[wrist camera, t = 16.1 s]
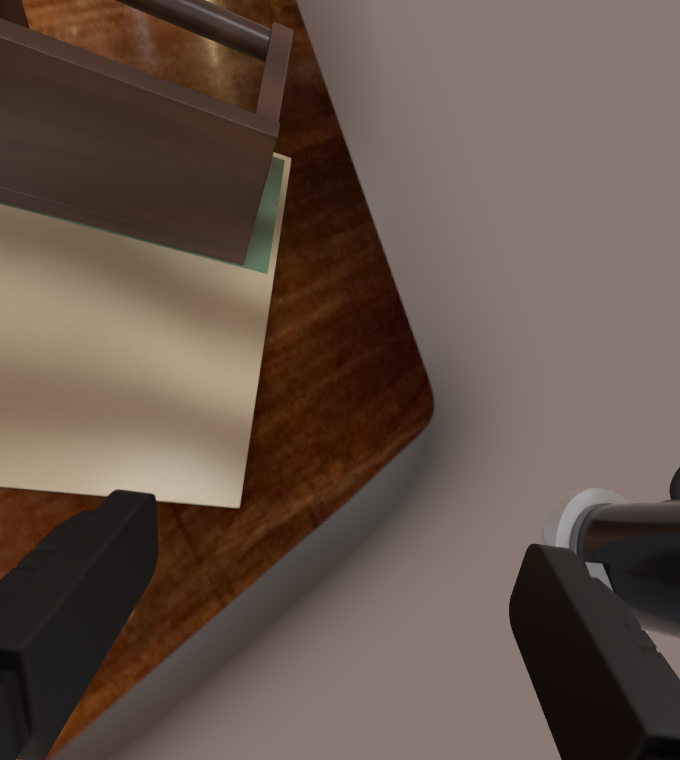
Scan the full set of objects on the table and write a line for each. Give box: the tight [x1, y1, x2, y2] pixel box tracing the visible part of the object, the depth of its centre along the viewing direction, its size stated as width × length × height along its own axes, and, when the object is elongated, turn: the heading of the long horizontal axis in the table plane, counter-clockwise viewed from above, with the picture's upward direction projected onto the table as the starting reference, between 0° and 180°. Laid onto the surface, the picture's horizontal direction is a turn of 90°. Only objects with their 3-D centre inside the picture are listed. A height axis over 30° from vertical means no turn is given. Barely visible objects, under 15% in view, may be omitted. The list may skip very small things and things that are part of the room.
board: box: [0, 152, 291, 509], centre depth 28 cm, size 28×20×1 cm
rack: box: [0, 0, 293, 265], centre depth 25 cm, size 10×16×12 cm, turn 86°
